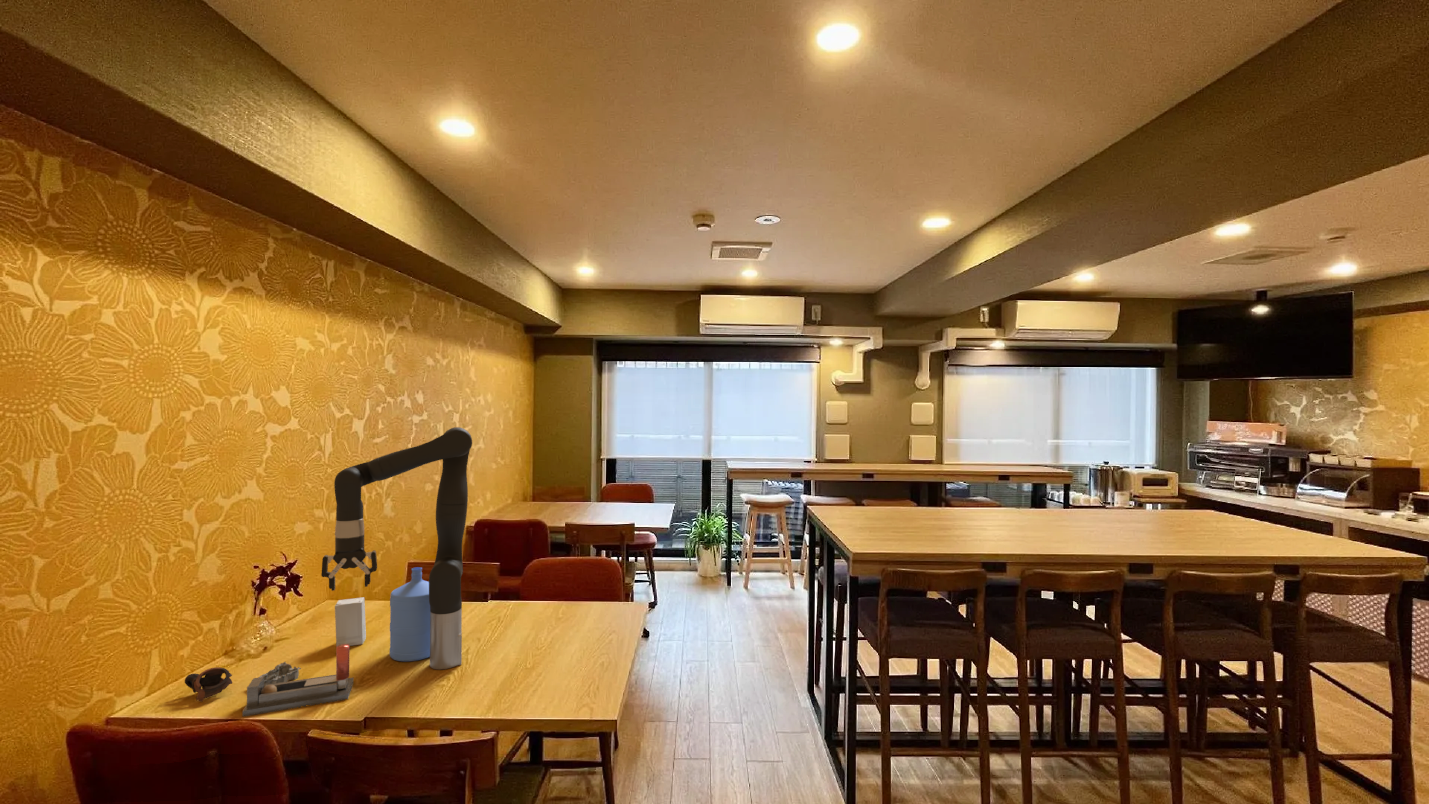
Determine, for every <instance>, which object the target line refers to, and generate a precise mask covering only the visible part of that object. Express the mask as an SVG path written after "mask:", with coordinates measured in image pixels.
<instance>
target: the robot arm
mask: <svg viewBox="0 0 1429 804" xmlns="http://www.w3.org/2000/svg"><path fill="white" fill-rule="evenodd" d="M472 446H473V438H472V435H471V434H470V432H469V431H468V430H466V429H465V428H462V427H460V426H457V427H456V426H455V427H451V428H448V429H447V430H446V431H445V432H444V433H443V434H442V435H439V436H438V437H436V438H433V439H432V440H429V441H427V442H424V443H422V444H419V445H416V446H413V447H409V448H405V449H401V450H398V451H393V452H391V453H387V454H385V455H382V456H379V457H376V458H373V459H372V460H370V461H366V462H363V463H358V464H355V465H353V466H349V467H346V468H344V469H342V470H341V471H339V472H338V473H337V474H336V476H335V478H334V483H333V484H334V485H333V486H334V495H335V502H336V508H335V510H336V511H335V518H336V519H335V520H336V521H335V529H334V530H335V531H334V536H335V537H334V545H335V546H334V555H328V554H324V555H323V556H322V562H321V573H320V574H321V575H320V576H321V577H322V578H327V579H328V589H329V590H330V589H331V591H332V592H333V591H335V590H336V576H335V575H336V574H337V573H338V572H339V570H340V569H343V570H347V569H355V568H357V567H358V568H359V569H360V570H361V571H363V572H364V588H366V587H368V585H370V583H371V573H374V572H376V571H377V570H378V559H377V558H378V557H377V551H376V550H372V551H365V550H366V549H365V523H364V522H365V521H364V503H363V500H362V487H364V486H367V485H370V484H372V483H375V482H380V481H385V480H387V479H390V478H392V477H395V476H398V475H402V474H404V473H406V472H408V471H411V470H414V469H416V468H417V469H418V468H419V467H421V466H424V465H427V464H431V463H434V462H438V461H441V460H442V470H441V476H440V480H439V485H438V490H437V496H436V506H435V526H436V533H437V535H436V536H437V548H436V555H435V559H434V565H433V566H432V568H431V570H430V572H429V576H428V582H429V604H430V657H429V667H430V668H431V669H433V670H447V669H450V668H451V669H452V668H454V667H457V666H461V665H462V659H463V658H462V657H463V655H462V651H463V650H462V649H463V648H462V647H463V646H462V645H463V643H462V642H463V640H462V639H463V637H462V636H463V635H462V634H463V632H462V631H463V630H462V626H463V625H462V619H463V617H462V615H463V614H462V613H463V611H462V608H463V607H462V606H463V600H462V576H463V574H464V573H463V572H464V569H463V567H464V566H463V564H464V563H463V539H464V534H465V533H464V532H465V529H466V528H465V527H466V523H467V514H468V502H469V500H468V499H469V496H468V495H469V493H468V492H469V490H468V477H467V474H468V472H467V470H468V462H469V456H470V450H471V449H472ZM365 558H368V559H369V560H370V561H371V567H369V566H368V565H367V564H366V562H364V560H365ZM331 561H334V563H336V566H334V568H333V569H332V571H331V572H330V571H328V569H329V564H331Z"/></svg>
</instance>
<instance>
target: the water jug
mask: <svg viewBox="0 0 1429 804" xmlns="http://www.w3.org/2000/svg"><path fill="white" fill-rule="evenodd" d="M422 571H423V567H419V566H417V567H416V566H415V567H413V568H411V575H410V576H411V579H410V581H409V582H406V583H404V584H403V585H401V586H399V587H397V588H395V589H393V590H392V591H391V593H390V598H389V607H390V618H389V619H390V620H389V621H390V623H389V640H390V641H389V642H390V643H389V657H390V658H391V659H392V660H394V661H397V662H406V663H407V662H417V661H421V660H425V659H428V658H430V604H429V580H428V581H427V580H424V579H423V578H422V577H423V572H422Z"/></svg>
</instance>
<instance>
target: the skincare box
mask: <svg viewBox="0 0 1429 804" xmlns="http://www.w3.org/2000/svg"><path fill="white" fill-rule="evenodd" d="M365 602H366V599H365V597H356V598H346V599H338V600H337V602H336V604H334V605H335V606H334V618H335V641H336V642H335V647H337V646H338V645H341V644H349V645H350V646H357V645H358V646H359V645H363V644H364V643H365V641H366V640H367V639H366V638H367V631H366V630H367V628H366V605H365Z"/></svg>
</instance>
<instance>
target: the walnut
mask: <svg viewBox="0 0 1429 804" xmlns="http://www.w3.org/2000/svg"><path fill="white" fill-rule="evenodd" d="M273 692H277V688H276V686H274V685H267V686H265V687H264V688H263V689H262V691H261V694H267V693H273Z"/></svg>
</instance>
